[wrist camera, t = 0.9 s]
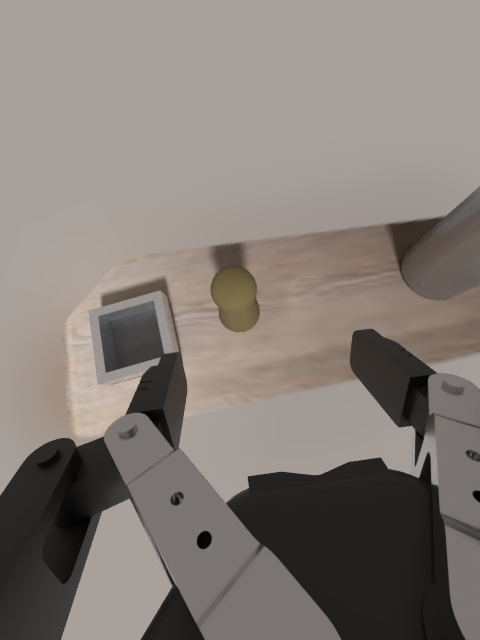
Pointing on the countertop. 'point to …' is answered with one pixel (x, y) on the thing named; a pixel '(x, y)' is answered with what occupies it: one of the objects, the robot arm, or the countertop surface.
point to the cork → (235, 298)
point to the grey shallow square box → (131, 336)
